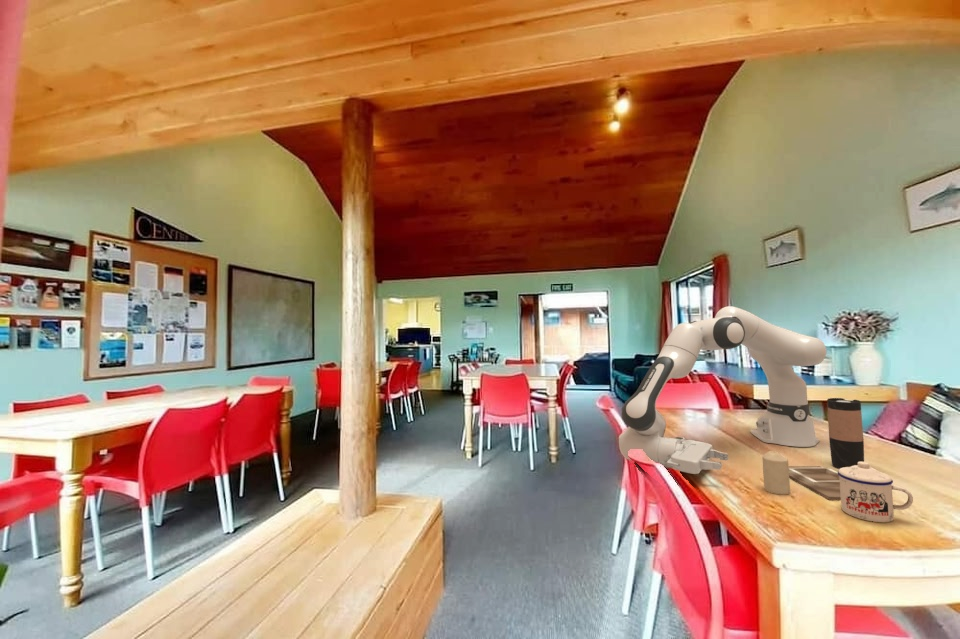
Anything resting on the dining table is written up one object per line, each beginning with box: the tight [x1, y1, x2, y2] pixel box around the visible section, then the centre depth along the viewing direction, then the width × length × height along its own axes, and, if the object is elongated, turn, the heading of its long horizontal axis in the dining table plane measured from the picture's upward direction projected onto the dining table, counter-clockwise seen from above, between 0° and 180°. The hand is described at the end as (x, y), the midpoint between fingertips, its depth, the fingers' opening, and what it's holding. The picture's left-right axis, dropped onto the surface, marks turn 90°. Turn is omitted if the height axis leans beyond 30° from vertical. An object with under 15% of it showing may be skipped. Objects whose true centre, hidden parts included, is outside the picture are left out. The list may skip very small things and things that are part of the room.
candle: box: [761, 450, 791, 495], centre depth 106 cm, size 6×6×10 cm
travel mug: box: [826, 397, 865, 470], centre depth 120 cm, size 8×8×20 cm
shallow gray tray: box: [789, 465, 841, 501], centre depth 109 cm, size 22×13×2 cm, turn 174°
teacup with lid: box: [837, 461, 914, 523], centre depth 91 cm, size 12×9×12 cm
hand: (724, 461), depth 114 cm, fingers open, 8 cm apart
